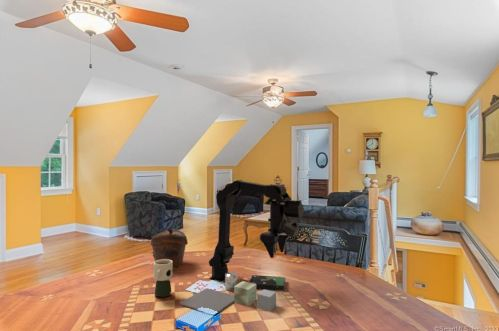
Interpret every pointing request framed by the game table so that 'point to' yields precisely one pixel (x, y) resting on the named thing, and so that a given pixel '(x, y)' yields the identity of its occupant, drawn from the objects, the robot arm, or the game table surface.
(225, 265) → the robot arm
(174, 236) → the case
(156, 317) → the game table surface
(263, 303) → the slate block
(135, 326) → the game table surface
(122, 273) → the game table surface
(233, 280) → the metal tin
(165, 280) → the character mug
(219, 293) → the mat
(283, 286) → the disk drive
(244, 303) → the sage block
